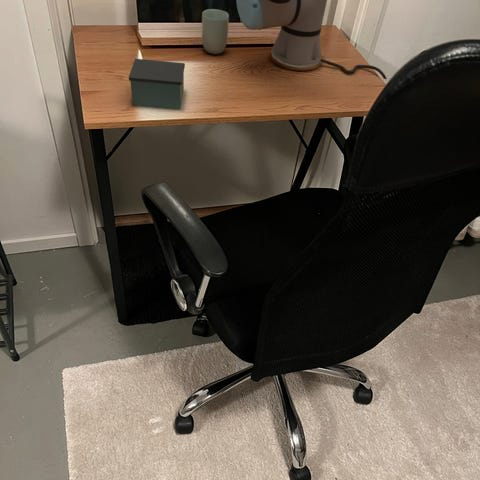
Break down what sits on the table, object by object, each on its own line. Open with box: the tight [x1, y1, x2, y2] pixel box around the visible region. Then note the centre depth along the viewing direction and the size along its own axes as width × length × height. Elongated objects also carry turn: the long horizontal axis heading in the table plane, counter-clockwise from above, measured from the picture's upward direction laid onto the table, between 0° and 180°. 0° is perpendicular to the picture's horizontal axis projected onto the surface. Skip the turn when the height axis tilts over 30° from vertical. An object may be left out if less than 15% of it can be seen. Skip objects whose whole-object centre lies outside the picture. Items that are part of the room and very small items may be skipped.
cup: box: [201, 8, 230, 55], centre depth 137 cm, size 8×8×10 cm
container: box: [128, 58, 186, 110], centre depth 117 cm, size 13×11×7 cm
